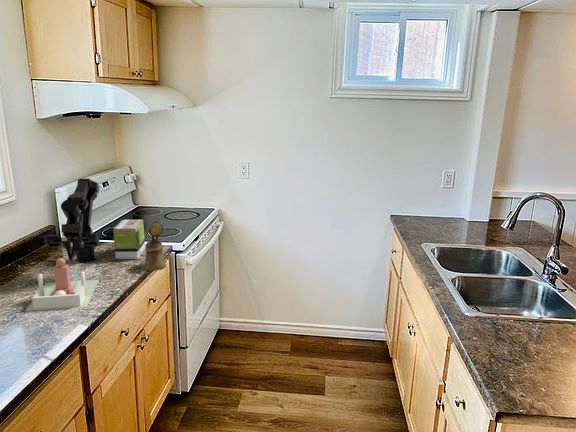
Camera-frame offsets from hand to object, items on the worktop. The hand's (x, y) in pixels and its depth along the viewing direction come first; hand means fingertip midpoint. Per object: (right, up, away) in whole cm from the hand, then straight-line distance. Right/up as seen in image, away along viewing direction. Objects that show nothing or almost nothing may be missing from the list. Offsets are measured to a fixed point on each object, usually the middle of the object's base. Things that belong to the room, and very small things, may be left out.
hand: (70, 260), depth 167 cm
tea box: (+10, -1, +35) cm, 37 cm away
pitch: (+2, -12, -8) cm, 15 cm away
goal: (+4, -13, -14) cm, 20 cm away
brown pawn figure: (+26, -5, +23) cm, 35 cm away
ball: (+4, -11, -14) cm, 19 cm away
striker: (+3, -12, -10) cm, 16 cm away
